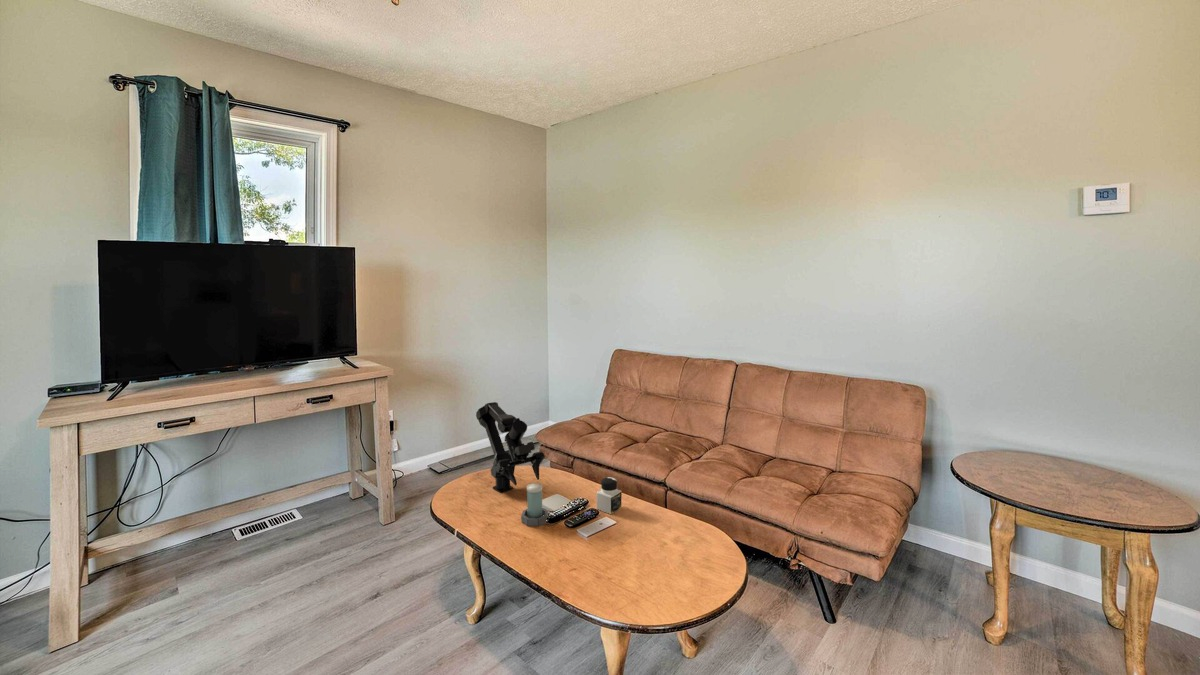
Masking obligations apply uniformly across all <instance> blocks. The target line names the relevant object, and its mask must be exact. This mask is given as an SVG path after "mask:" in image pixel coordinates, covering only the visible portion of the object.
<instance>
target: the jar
mask: <svg viewBox="0 0 1200 675" xmlns="http://www.w3.org/2000/svg"><path fill="white" fill-rule="evenodd" d="M542 500H543V484H541V483H538V482H533V483H529V484H527V485H526V502H527V503H526V507H527V508H526V509H527V516H528V518H539V517H542V508H543V507H542Z"/></svg>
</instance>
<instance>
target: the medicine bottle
mask: <svg viewBox="0 0 1200 675" xmlns="http://www.w3.org/2000/svg"><path fill="white" fill-rule="evenodd" d="M600 483H601V489H600V490H597V492H596V510H597V509H599V510H598V511H600V510H601V512H603V513H605V512H606V514H608V513H609V515H612V514H614V513H615V512H617V511H619V510H620V509H621V508H622V494H623V493H622V490H620V489H618V481H617V478H614V477H611V476H610V477H609V476H608V477H607V476H606V477H604V478H603V479H601V482H600Z"/></svg>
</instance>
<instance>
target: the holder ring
mask: <svg viewBox="0 0 1200 675" xmlns="http://www.w3.org/2000/svg"><path fill="white" fill-rule="evenodd" d="M543 515H544V516H543ZM547 517H548V518H549V510H547V509H545V508H543V507H542V517H539V518H528V516H527V508H526V509H523V510H522V513H521V523H522V524H524V525H525V526H527V527H540V526H543V525H544V524H546V523H545V522H546V520H547Z"/></svg>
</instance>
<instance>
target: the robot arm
mask: <svg viewBox="0 0 1200 675" xmlns="http://www.w3.org/2000/svg"><path fill="white" fill-rule="evenodd" d="M475 416H476V420H477V421H478V423H479V425H480V426H481V427H483V428H484V429H485V431H486V435H487V438H488V440H489V443H490V446H491V449H492V453H493V456H494V458H493V462H492V467H491V468H490V475H491V476H492V477H493V478H494V479H495V485H494V486H492V489H494V490H495V491H497V492H499V493H503V492H507V491H509V490H512V489H514V487H513V485H514V486H517V485H518V484H517V483H518V482H517V479H516V477H515V470H516V469H515V468H516V466H518V465H519V466H520V465H524V464H527V463H531V465H532V466H531V468H532V470H533V473H534V476H535V478H536V480H537V481H540V466H541V463H542V462H543V460H545V458H546V455H545V453H544V452H543V451H537V452H533V453H532V451H535V444H534V442H533V441H528V442H527V443H526V445H525V443H523V441H522V438H523V437H524V435H525V433H526V432H527V430H528V425H527V423H526V422H525V421H523V420H521V419H520V417H518V418H517V417H515V416H514V415H512V414H507V413H506V412H505V410H503V409H502V408H501V407H500V406H499V403H498V402H496V401H494V402H493V401H492V402H487V403H485V404H484V405H483V406H482V407H480V408H478V409H477V411H476V413H475ZM496 422H497V424H496ZM499 432H500V433H502V434H503V433H506V434H505V436H504V442H505V443H506V445H507V449H508V451H506V449H505V448H504V444H503V442H502V438H501V436H500V434H499ZM531 453H532V455H531V456H529V455H530V454H531ZM511 483H512V484H513V485H511Z"/></svg>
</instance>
